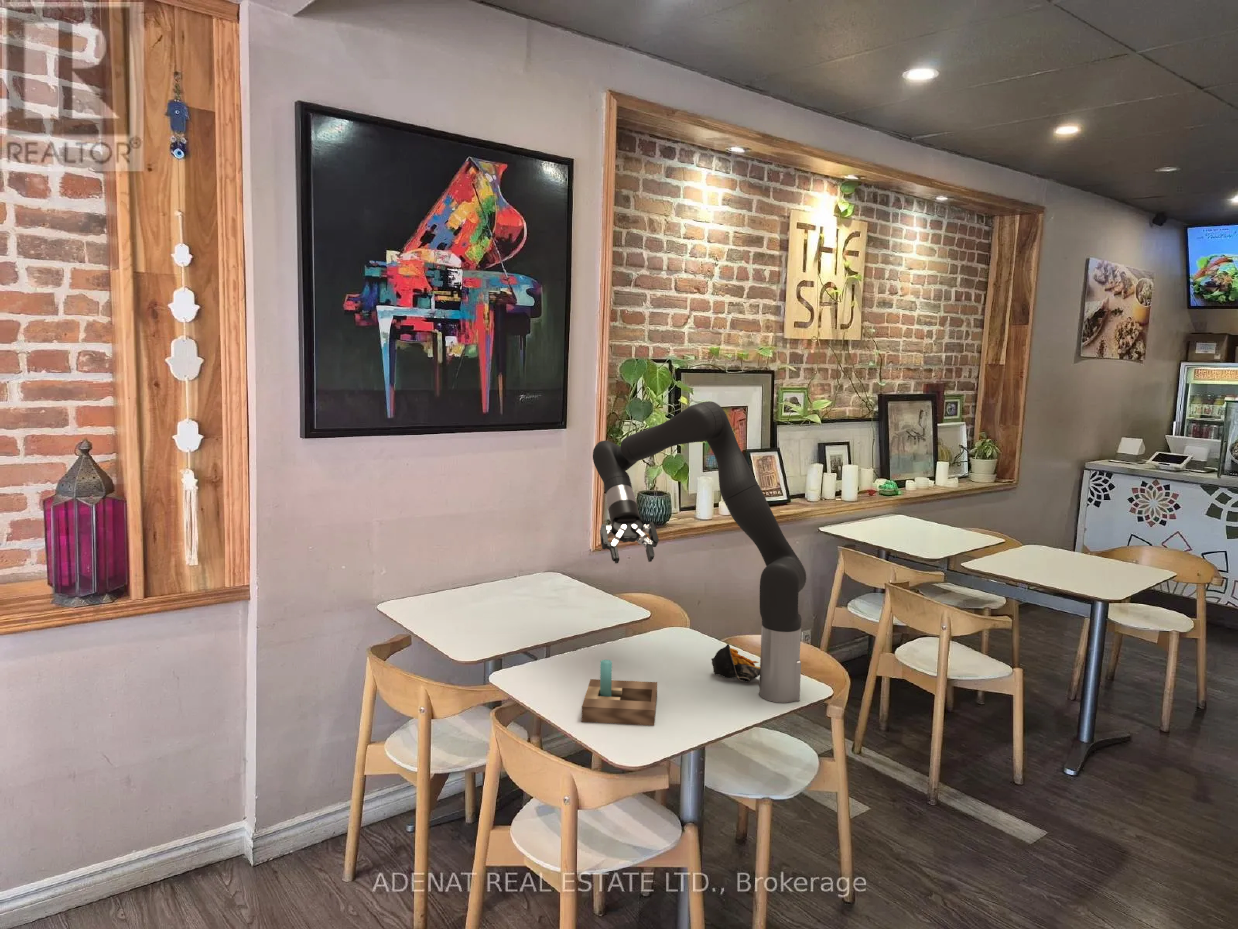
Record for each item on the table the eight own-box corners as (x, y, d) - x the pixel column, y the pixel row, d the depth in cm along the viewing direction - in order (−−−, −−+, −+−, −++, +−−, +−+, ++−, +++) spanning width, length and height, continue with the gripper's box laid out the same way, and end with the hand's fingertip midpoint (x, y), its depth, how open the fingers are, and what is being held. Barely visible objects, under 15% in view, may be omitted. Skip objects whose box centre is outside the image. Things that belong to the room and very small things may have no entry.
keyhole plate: (657, 696, 195) (657, 682, 195) (654, 725, 180) (654, 710, 179) (590, 693, 197) (590, 679, 196) (581, 721, 181) (581, 706, 180)
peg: (617, 704, 191) (618, 658, 189) (615, 713, 186) (616, 666, 184) (595, 702, 191) (596, 657, 190) (593, 711, 186) (594, 665, 185)
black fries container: (708, 650, 214) (775, 631, 212) (720, 693, 211) (788, 674, 209) (705, 648, 205) (775, 629, 204) (718, 693, 202) (789, 673, 200)
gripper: (598, 499, 206) (609, 554, 196) (652, 497, 209) (665, 551, 200) (592, 516, 211) (603, 570, 202) (645, 514, 215) (658, 567, 206)
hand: (634, 561), depth 201 cm, fingers open, 8 cm apart
